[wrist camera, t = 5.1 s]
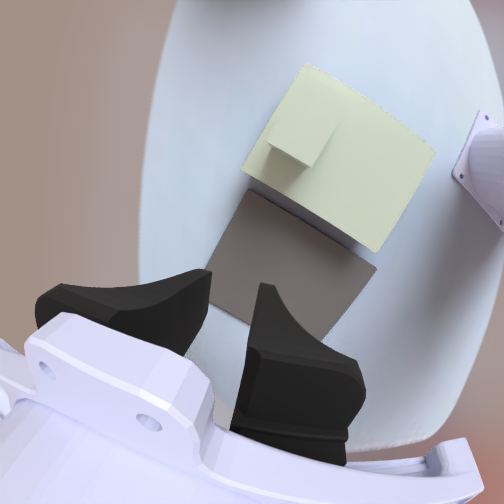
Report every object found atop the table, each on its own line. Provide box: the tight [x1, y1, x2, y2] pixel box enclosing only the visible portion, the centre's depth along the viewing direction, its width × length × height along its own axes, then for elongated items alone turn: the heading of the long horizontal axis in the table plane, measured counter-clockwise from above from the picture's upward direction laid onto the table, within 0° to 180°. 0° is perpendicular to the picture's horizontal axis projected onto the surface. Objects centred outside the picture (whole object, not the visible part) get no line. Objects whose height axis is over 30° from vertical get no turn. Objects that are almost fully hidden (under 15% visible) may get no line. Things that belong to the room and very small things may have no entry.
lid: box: [241, 63, 436, 253], centre depth 14 cm, size 10×8×5 cm
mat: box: [204, 189, 377, 342], centre depth 22 cm, size 12×10×1 cm
